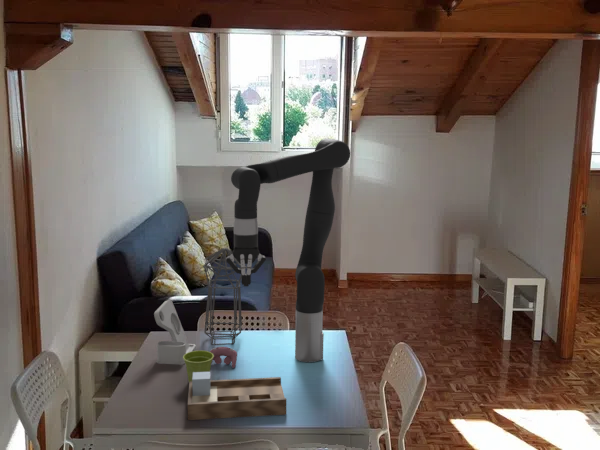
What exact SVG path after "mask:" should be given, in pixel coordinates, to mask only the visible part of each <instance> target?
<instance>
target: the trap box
mask: <svg viewBox="0 0 600 450" xmlns="http://www.w3.org/2000/svg"><path fill="white" fill-rule="evenodd" d="M188 383H189V384H188V395H187V420H188V421H194V420H195V421H196V420H198V421H199V420H213V419H230V418H231V419H232V418H248V417H267V416H268V417H269V416H285V415H287V397H285V393H284V389H283V386H282V377H281V376H274V377H272V376H271V377H252V378H235V379H234V378H233V379H230V378H229V379H213V380H212V379H210V395H203V396H193V386H192V381H190V382H189V381H188Z"/></svg>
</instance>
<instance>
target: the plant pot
mask: <svg viewBox="0 0 600 450" xmlns="http://www.w3.org/2000/svg"><path fill="white" fill-rule="evenodd" d="M213 358H214V355H213V353H211V352H210V351H208V350H194V351H192V352H188V353H186V354H185V355H184V356H183V359H184V360H185V364H184V365H185V367H186V374H187V381H188V383H189V382H190V381H192V378H193V372H210V373H211V366H212V363H213V361H212V359H213ZM211 362H212V363H211Z"/></svg>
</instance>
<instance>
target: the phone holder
mask: <svg viewBox="0 0 600 450" xmlns="http://www.w3.org/2000/svg"><path fill="white" fill-rule="evenodd" d="M153 315H154V316H153V317H154V320H155V322H156V325H157V326H159V327H160V328H161V329H164V330H165V331H167V332H168V334H169V335H170V338H171V341H169V340H163V341H159V342H157V343H156V360H155V362H156V364H162V365H186V364H185V360H184V359H183V356H184V355H185V354H186V353H188V352H192V351H195V350H196V344H195V343H189V341H188V337H187V335H186V333H185V330H184V328H183V326H182V323H181V320H180V318H179V316H178V312H177V310H176V308H175V305H174V303H173V301H172V300H171V299H168V300H165V301H164V302H163V303H162V304H161V305H160V306H159V307H158V308H157V309H156V310H155V311H154V313H153Z"/></svg>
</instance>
